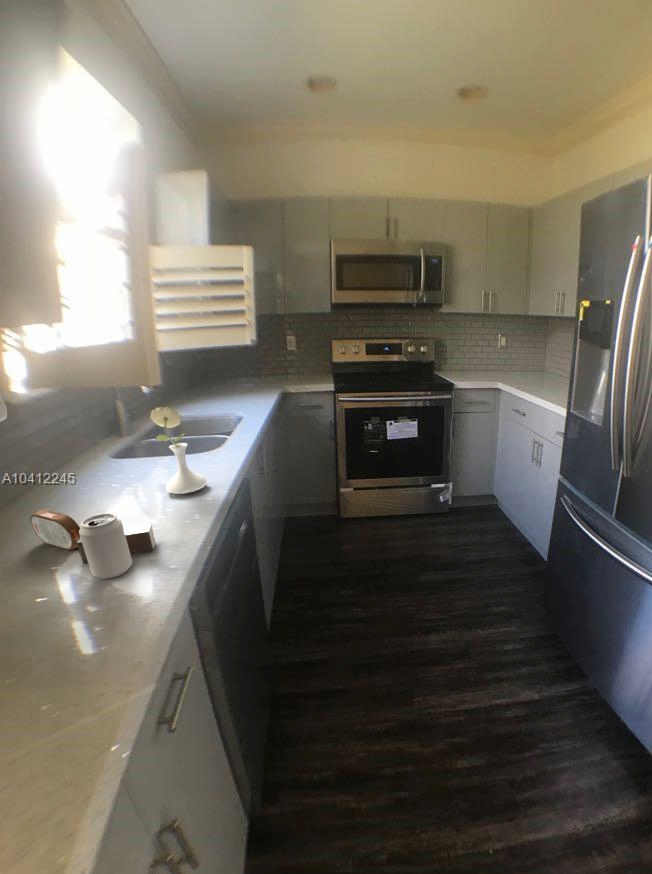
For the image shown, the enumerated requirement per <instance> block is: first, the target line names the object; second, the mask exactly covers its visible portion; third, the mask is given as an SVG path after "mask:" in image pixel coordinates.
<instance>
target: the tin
mask: <svg viewBox="0 0 652 874" xmlns="http://www.w3.org/2000/svg"><path fill="white" fill-rule="evenodd" d="M29 522H30V524H31V526H32V528H33V530H34V533H35V535H36V536H37V537H38V538H39V540H41V541H42V542H43V543H44V544H47V545H49V546H52V547H55V548H60V549H62V550H66V551H73V550H75V549H76V548H78V546H77V541H78V540H79V538H80V534H79V530H80V529H81V526H80V525H79V524H78V522H77V521H75V519H74V518H73V517H72V516H70V515H69V514H66V513H62V512H58V511H54V510H52V509H47V508H42V509H40V510H38V511H37V512H34V513H32V514H31V515H30V517H29Z"/></svg>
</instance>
